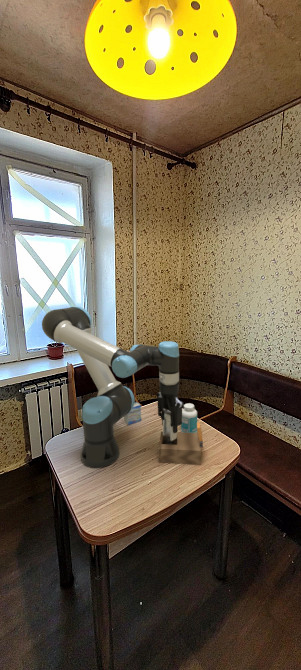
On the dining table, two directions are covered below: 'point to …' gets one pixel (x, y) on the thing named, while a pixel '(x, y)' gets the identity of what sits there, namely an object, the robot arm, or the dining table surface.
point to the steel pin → (167, 426)
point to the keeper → (199, 431)
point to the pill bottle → (189, 419)
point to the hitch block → (181, 449)
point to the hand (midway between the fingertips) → (169, 436)
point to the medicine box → (133, 414)
